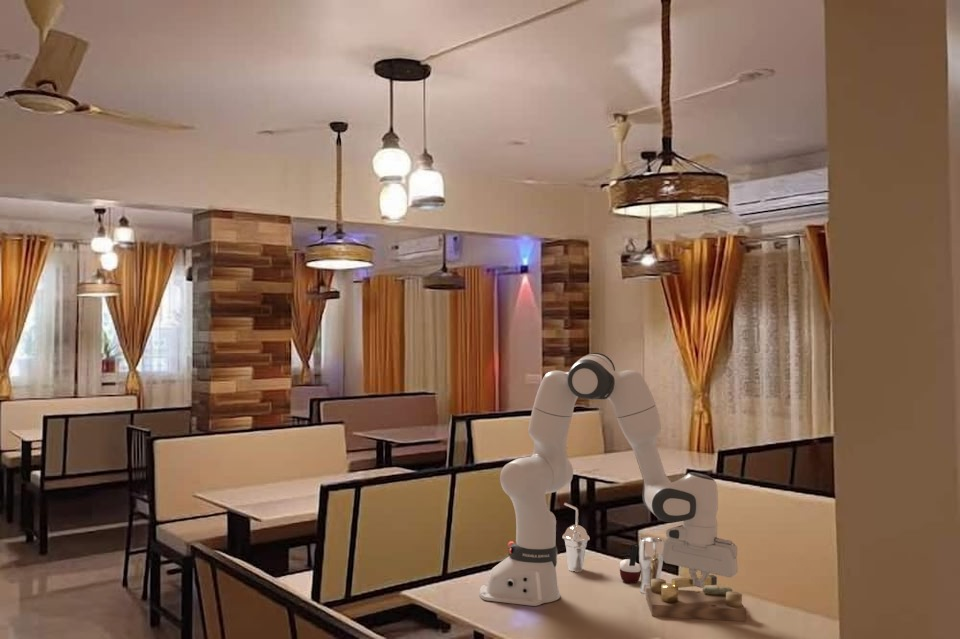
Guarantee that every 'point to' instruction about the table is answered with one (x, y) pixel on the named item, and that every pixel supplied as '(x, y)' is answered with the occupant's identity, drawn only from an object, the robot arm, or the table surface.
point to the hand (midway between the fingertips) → (698, 586)
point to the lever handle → (671, 590)
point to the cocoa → (630, 567)
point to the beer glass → (650, 560)
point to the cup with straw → (575, 544)
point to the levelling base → (697, 603)
